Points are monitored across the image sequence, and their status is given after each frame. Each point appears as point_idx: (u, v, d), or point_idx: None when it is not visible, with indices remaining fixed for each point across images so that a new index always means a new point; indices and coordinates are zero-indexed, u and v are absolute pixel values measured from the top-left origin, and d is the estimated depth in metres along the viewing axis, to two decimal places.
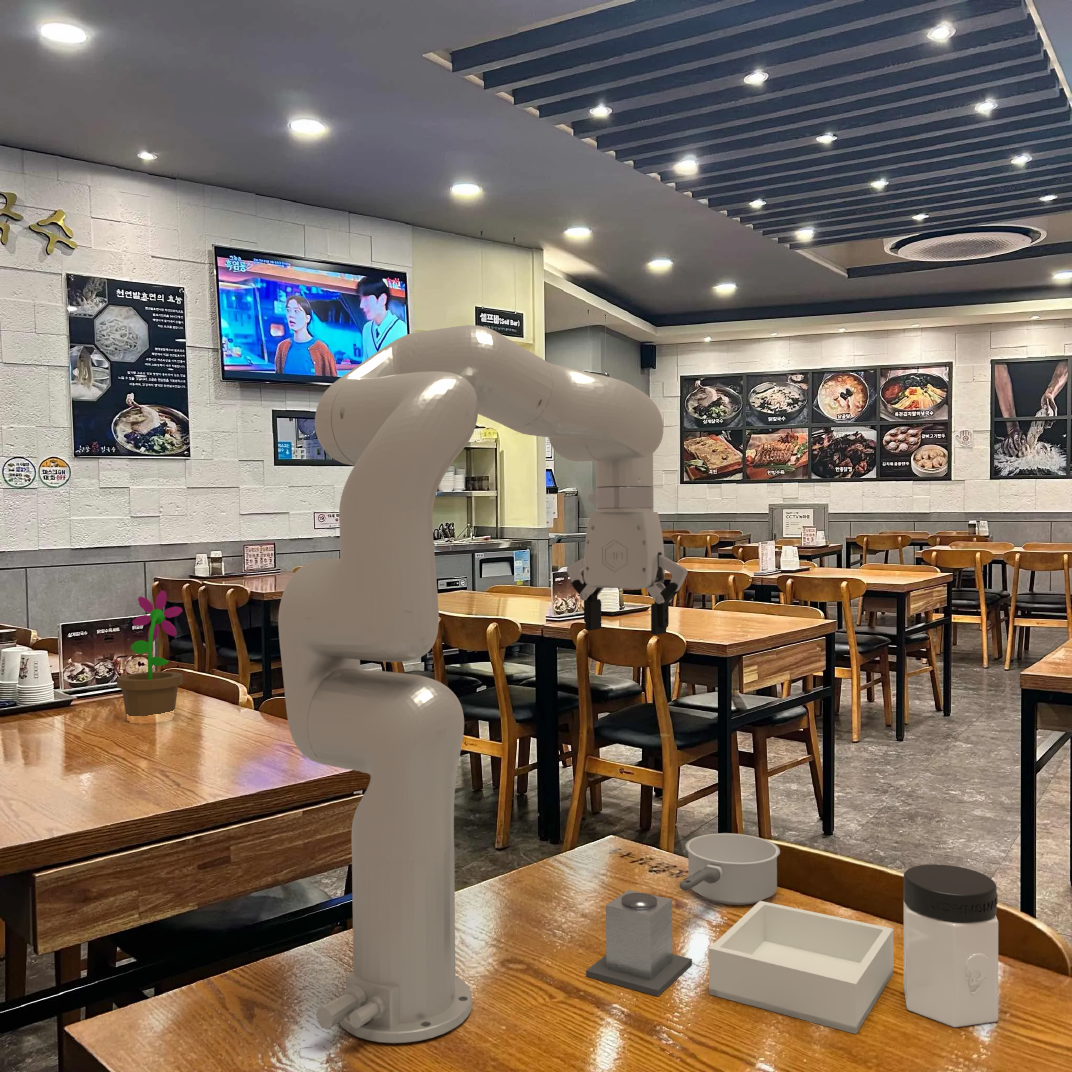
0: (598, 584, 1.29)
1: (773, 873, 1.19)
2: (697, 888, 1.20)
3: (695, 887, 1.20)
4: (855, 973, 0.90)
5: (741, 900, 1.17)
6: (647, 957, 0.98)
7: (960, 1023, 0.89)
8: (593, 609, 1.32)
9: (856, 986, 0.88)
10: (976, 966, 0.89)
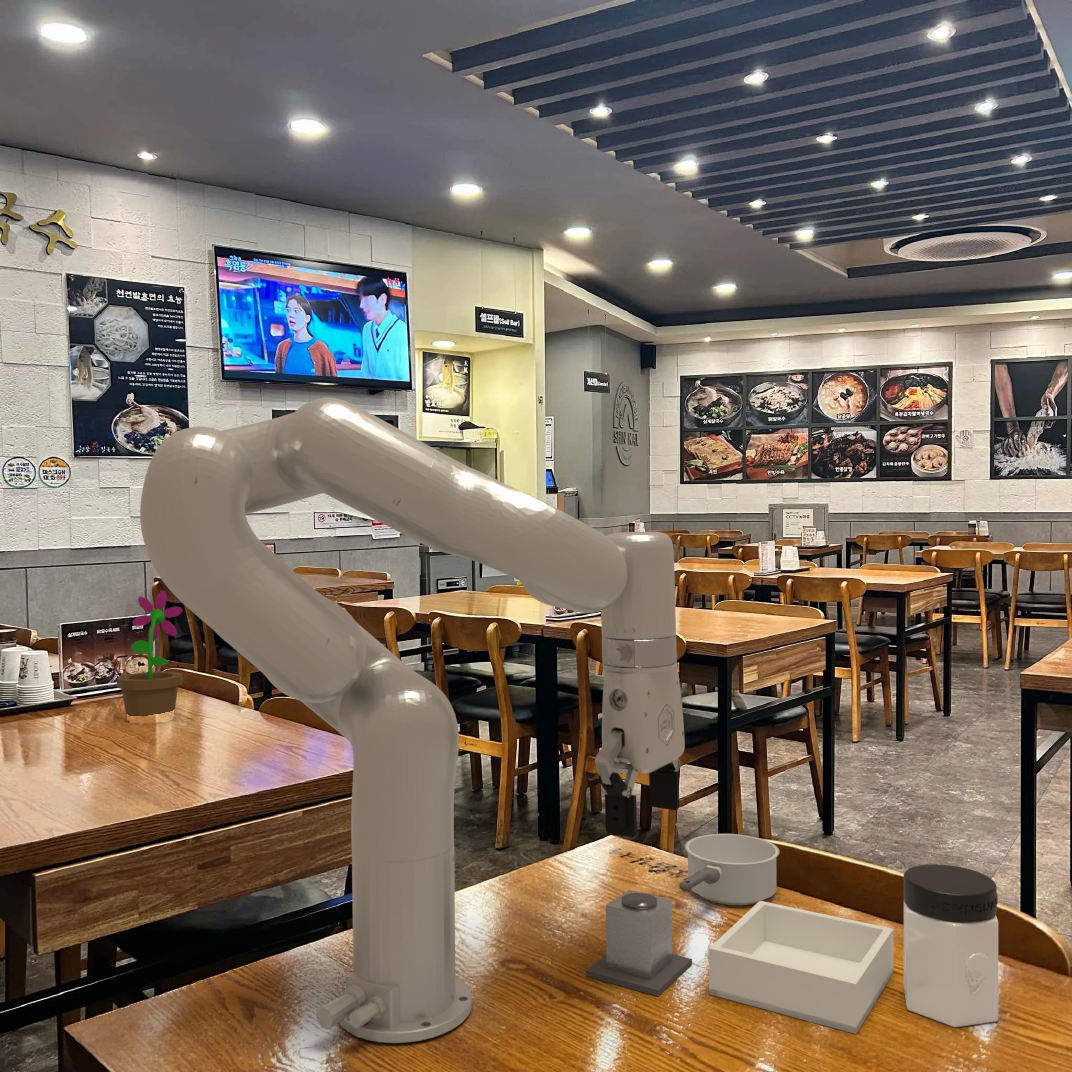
0: (656, 768, 0.97)
1: (773, 873, 1.19)
2: (696, 889, 1.19)
3: (694, 888, 1.20)
4: (855, 973, 0.90)
5: (741, 901, 1.17)
6: (647, 957, 0.98)
7: (960, 1023, 0.89)
8: None
9: (856, 986, 0.88)
10: (976, 966, 0.89)
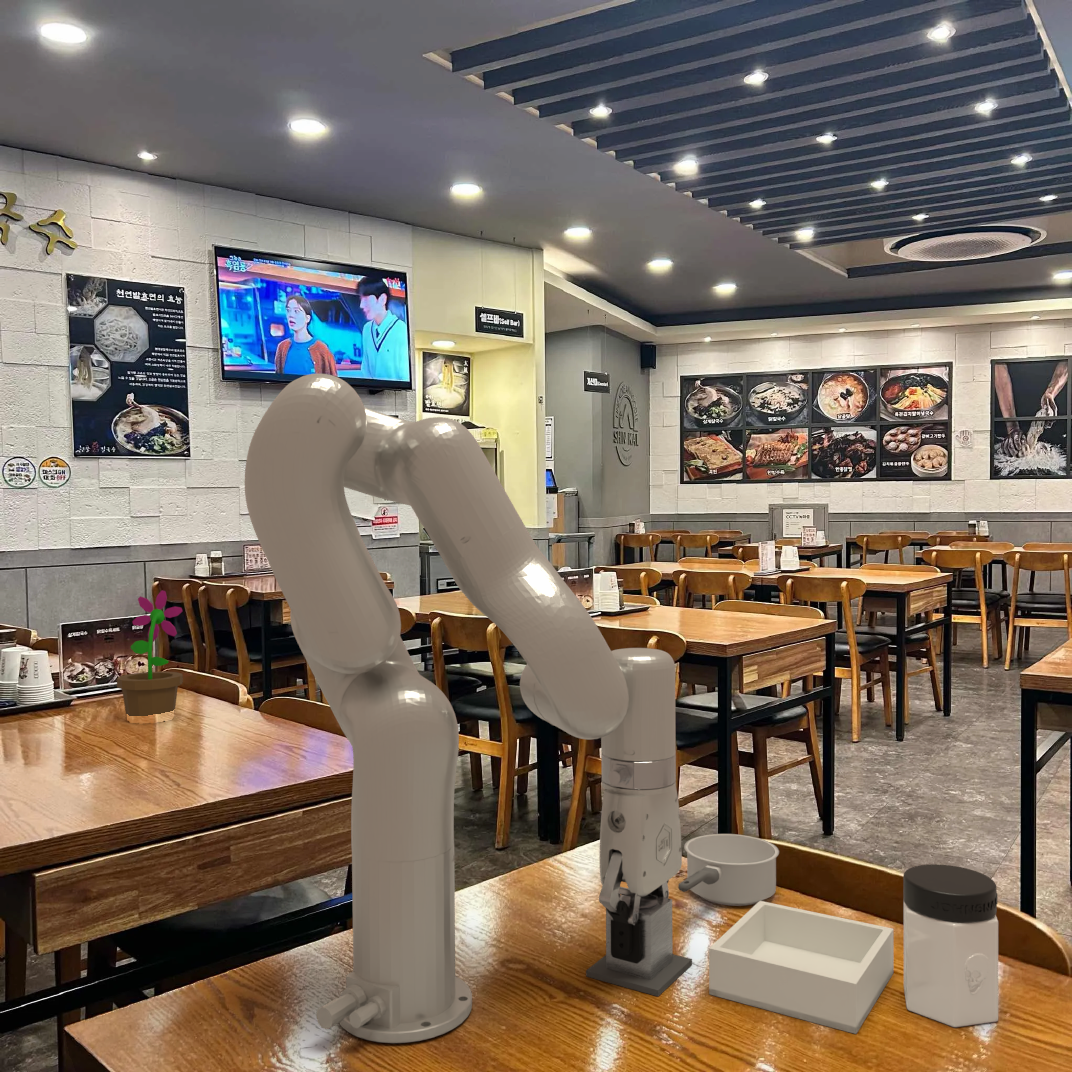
0: (653, 889, 0.97)
1: (772, 874, 1.19)
2: (696, 889, 1.19)
3: (694, 888, 1.20)
4: (855, 973, 0.90)
5: (740, 901, 1.17)
6: (647, 957, 0.98)
7: (960, 1023, 0.89)
8: None
9: (856, 986, 0.88)
10: (976, 966, 0.89)
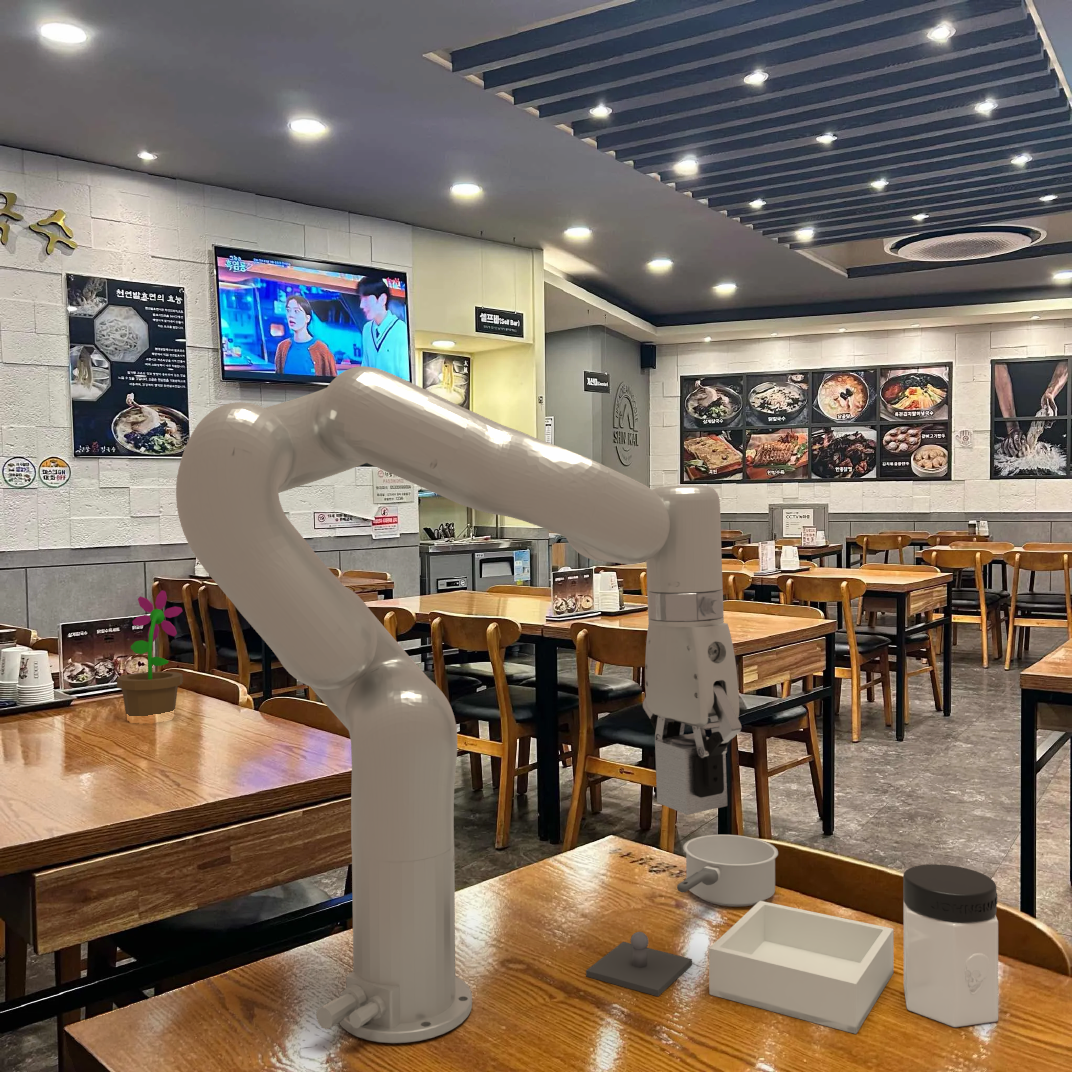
0: None
1: (771, 875, 1.19)
2: (695, 890, 1.19)
3: (693, 889, 1.19)
4: (855, 973, 0.90)
5: (739, 902, 1.16)
6: None
7: (960, 1023, 0.89)
8: None
9: (856, 986, 0.88)
10: (976, 966, 0.89)
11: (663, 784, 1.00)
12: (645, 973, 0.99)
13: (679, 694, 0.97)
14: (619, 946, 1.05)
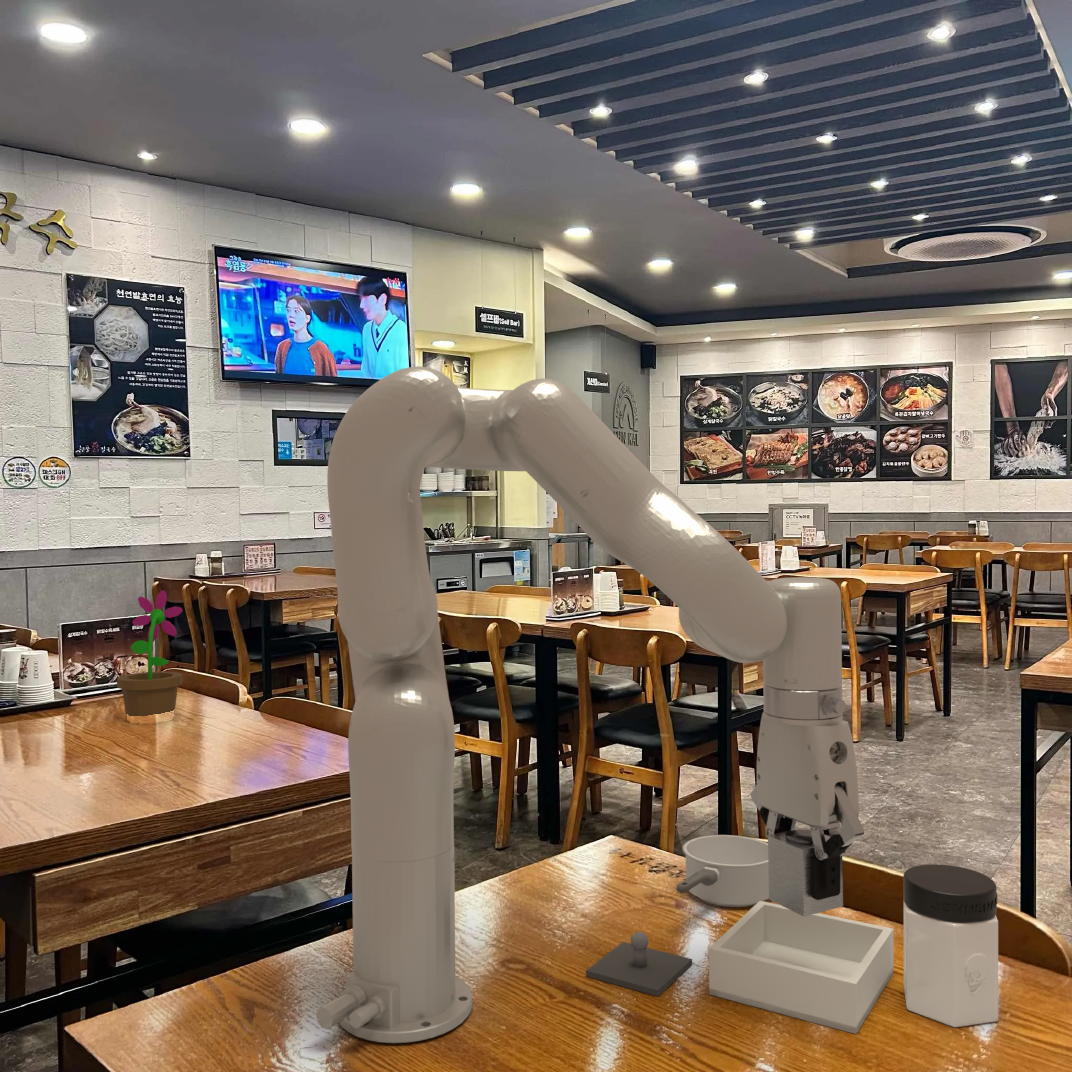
0: None
1: None
2: (694, 890, 1.19)
3: (692, 889, 1.19)
4: (855, 973, 0.90)
5: (738, 902, 1.16)
6: None
7: (960, 1023, 0.89)
8: None
9: (856, 986, 0.88)
10: (976, 966, 0.89)
11: (776, 881, 0.98)
12: (645, 973, 0.99)
13: (797, 793, 0.95)
14: (619, 946, 1.05)
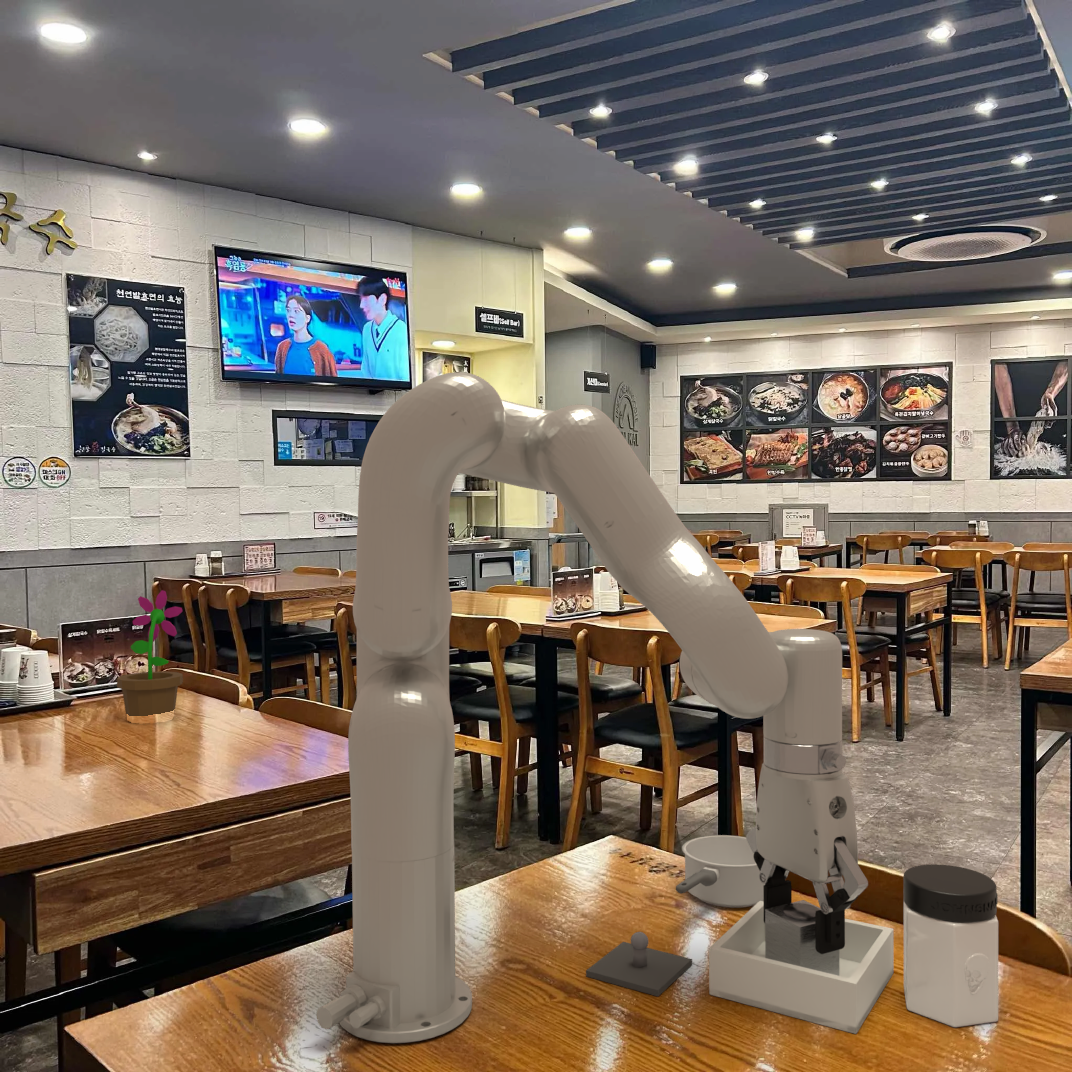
0: None
1: None
2: (693, 891, 1.19)
3: (692, 890, 1.19)
4: (855, 973, 0.90)
5: (738, 903, 1.16)
6: (836, 960, 0.97)
7: (960, 1023, 0.89)
8: None
9: (856, 986, 0.88)
10: (976, 966, 0.89)
11: (773, 956, 0.98)
12: (645, 973, 0.99)
13: (796, 846, 0.95)
14: (619, 946, 1.05)
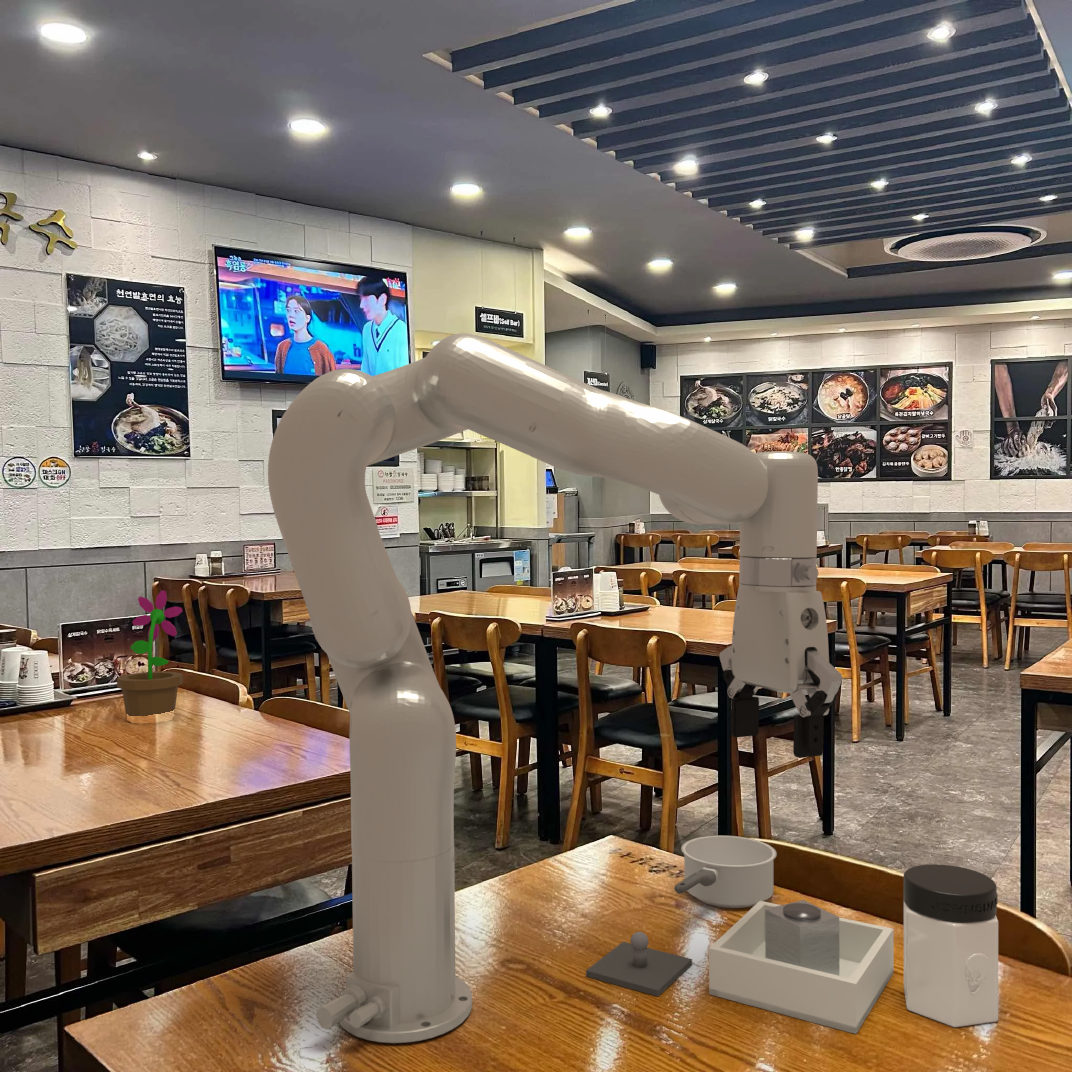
0: None
1: (769, 876, 1.18)
2: (693, 891, 1.19)
3: (691, 890, 1.19)
4: (855, 973, 0.90)
5: (737, 903, 1.16)
6: (836, 960, 0.97)
7: (960, 1023, 0.89)
8: None
9: (856, 986, 0.88)
10: (976, 966, 0.89)
11: (773, 956, 0.98)
12: (645, 973, 0.99)
13: (768, 660, 0.97)
14: (619, 946, 1.05)
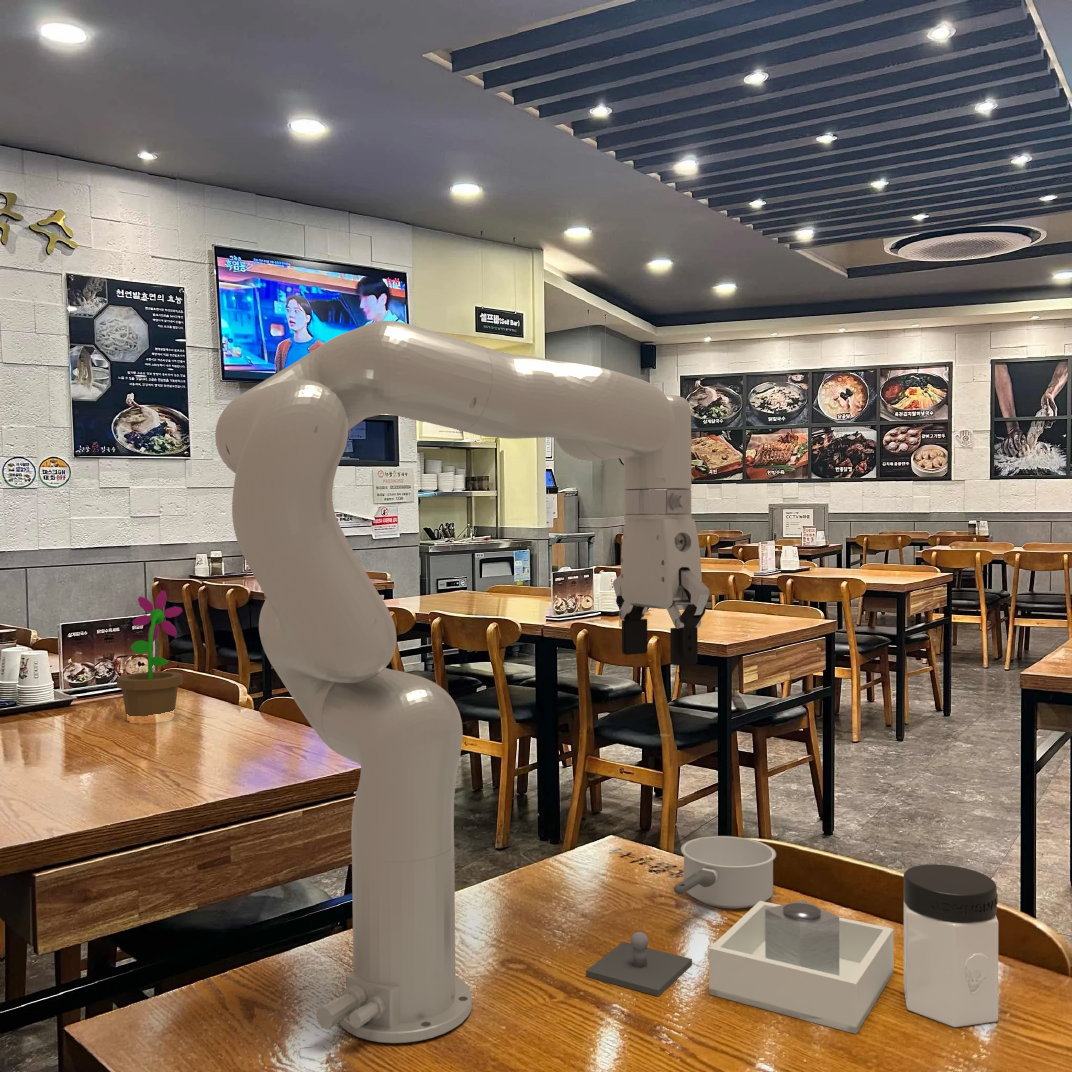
0: None
1: (769, 877, 1.18)
2: (692, 892, 1.19)
3: (690, 890, 1.19)
4: (855, 973, 0.90)
5: (736, 904, 1.16)
6: (836, 960, 0.97)
7: (960, 1023, 0.89)
8: None
9: (856, 986, 0.88)
10: (976, 966, 0.89)
11: (773, 956, 0.98)
12: (645, 973, 0.99)
13: (649, 580, 1.09)
14: (619, 946, 1.05)
